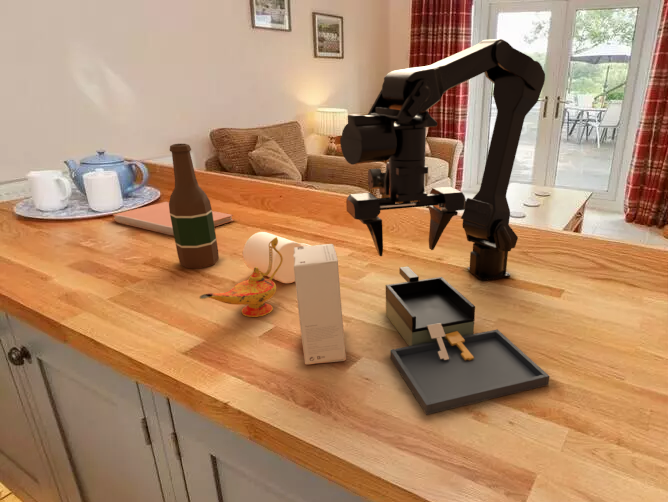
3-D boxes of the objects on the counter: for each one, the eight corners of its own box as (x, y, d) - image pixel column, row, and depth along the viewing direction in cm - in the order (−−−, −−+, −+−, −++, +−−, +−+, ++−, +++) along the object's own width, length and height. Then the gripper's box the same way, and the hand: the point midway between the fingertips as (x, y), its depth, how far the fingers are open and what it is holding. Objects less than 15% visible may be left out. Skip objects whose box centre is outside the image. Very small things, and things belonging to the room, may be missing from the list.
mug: (275, 289, 90) (271, 248, 87) (244, 275, 96) (239, 236, 93) (325, 270, 99) (322, 232, 96) (294, 259, 105) (291, 223, 102)
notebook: (110, 222, 129) (108, 214, 128) (166, 207, 142) (165, 200, 141) (179, 238, 117) (177, 230, 116) (234, 221, 130) (232, 214, 129)
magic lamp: (191, 333, 75) (178, 266, 71) (271, 290, 90) (264, 232, 86) (224, 343, 72) (213, 275, 68) (301, 297, 87) (295, 238, 83)
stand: (385, 314, 81) (385, 298, 80) (440, 305, 85) (441, 290, 84) (411, 350, 71) (412, 332, 70) (473, 338, 74) (474, 321, 73)
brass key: (444, 336, 72) (444, 334, 72) (456, 332, 73) (457, 330, 72) (464, 362, 68) (465, 360, 68) (478, 358, 69) (478, 355, 68)
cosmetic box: (346, 361, 68) (341, 262, 62) (302, 366, 67) (293, 265, 61) (340, 332, 76) (335, 241, 70) (300, 336, 75) (292, 244, 69)
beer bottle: (171, 265, 101) (147, 145, 91) (199, 253, 107) (179, 140, 98) (200, 271, 98) (179, 148, 88) (227, 258, 105) (210, 143, 95)
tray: (496, 337, 75) (497, 329, 74) (548, 385, 64) (549, 376, 63) (390, 358, 69) (390, 349, 69) (426, 414, 58) (426, 405, 57)
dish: (376, 287, 84) (376, 270, 83) (429, 279, 88) (430, 263, 87) (412, 332, 70) (412, 313, 69) (474, 321, 73) (475, 302, 72)
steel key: (426, 326, 70) (426, 325, 70) (440, 324, 71) (441, 322, 71) (438, 362, 68) (439, 361, 67) (453, 359, 68) (454, 358, 68)
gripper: (440, 148, 86) (437, 233, 93) (336, 153, 80) (340, 243, 86) (469, 158, 77) (464, 252, 83) (354, 164, 71) (357, 265, 77)
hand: (406, 252), depth 82 cm, fingers open, 9 cm apart
